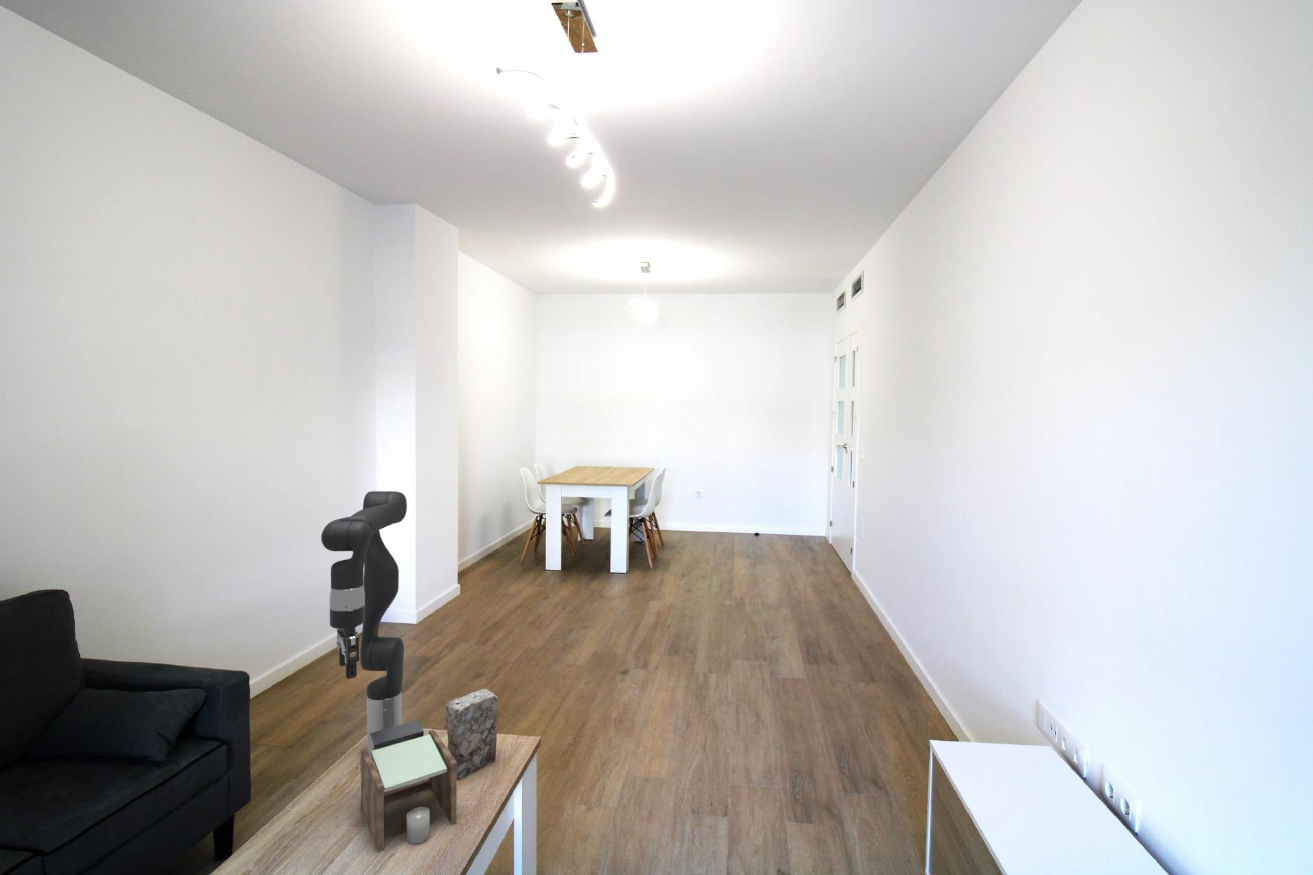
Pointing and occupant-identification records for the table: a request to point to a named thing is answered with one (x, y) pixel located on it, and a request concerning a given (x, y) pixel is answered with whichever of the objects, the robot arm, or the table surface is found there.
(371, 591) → the robot arm
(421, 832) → the smooth gray cylinder
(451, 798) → the stand
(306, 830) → the table surface
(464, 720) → the stone block
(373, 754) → the trapdoor
